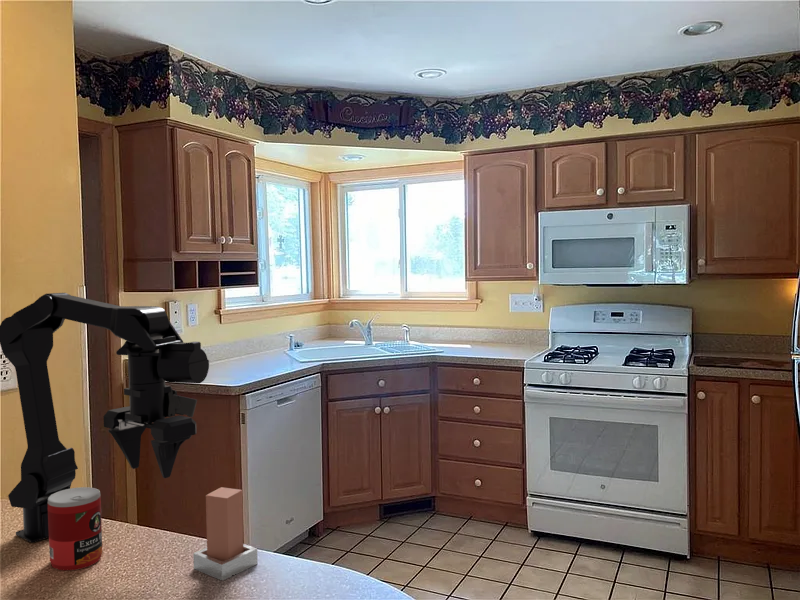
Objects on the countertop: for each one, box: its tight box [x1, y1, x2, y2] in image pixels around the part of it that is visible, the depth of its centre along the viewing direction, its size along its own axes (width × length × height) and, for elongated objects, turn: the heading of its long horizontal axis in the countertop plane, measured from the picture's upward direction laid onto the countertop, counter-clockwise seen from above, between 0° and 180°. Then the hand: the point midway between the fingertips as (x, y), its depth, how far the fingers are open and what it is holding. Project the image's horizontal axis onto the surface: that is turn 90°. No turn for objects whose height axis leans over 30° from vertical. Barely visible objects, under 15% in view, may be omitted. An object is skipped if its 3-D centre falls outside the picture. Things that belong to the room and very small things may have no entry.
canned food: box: [48, 486, 103, 571], centre depth 107 cm, size 8×8×11 cm
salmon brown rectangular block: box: [205, 486, 244, 562], centre depth 104 cm, size 4×4×12 cm
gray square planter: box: [192, 543, 258, 581], centre depth 105 cm, size 7×7×2 cm
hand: (150, 472), depth 111 cm, fingers open, 9 cm apart
